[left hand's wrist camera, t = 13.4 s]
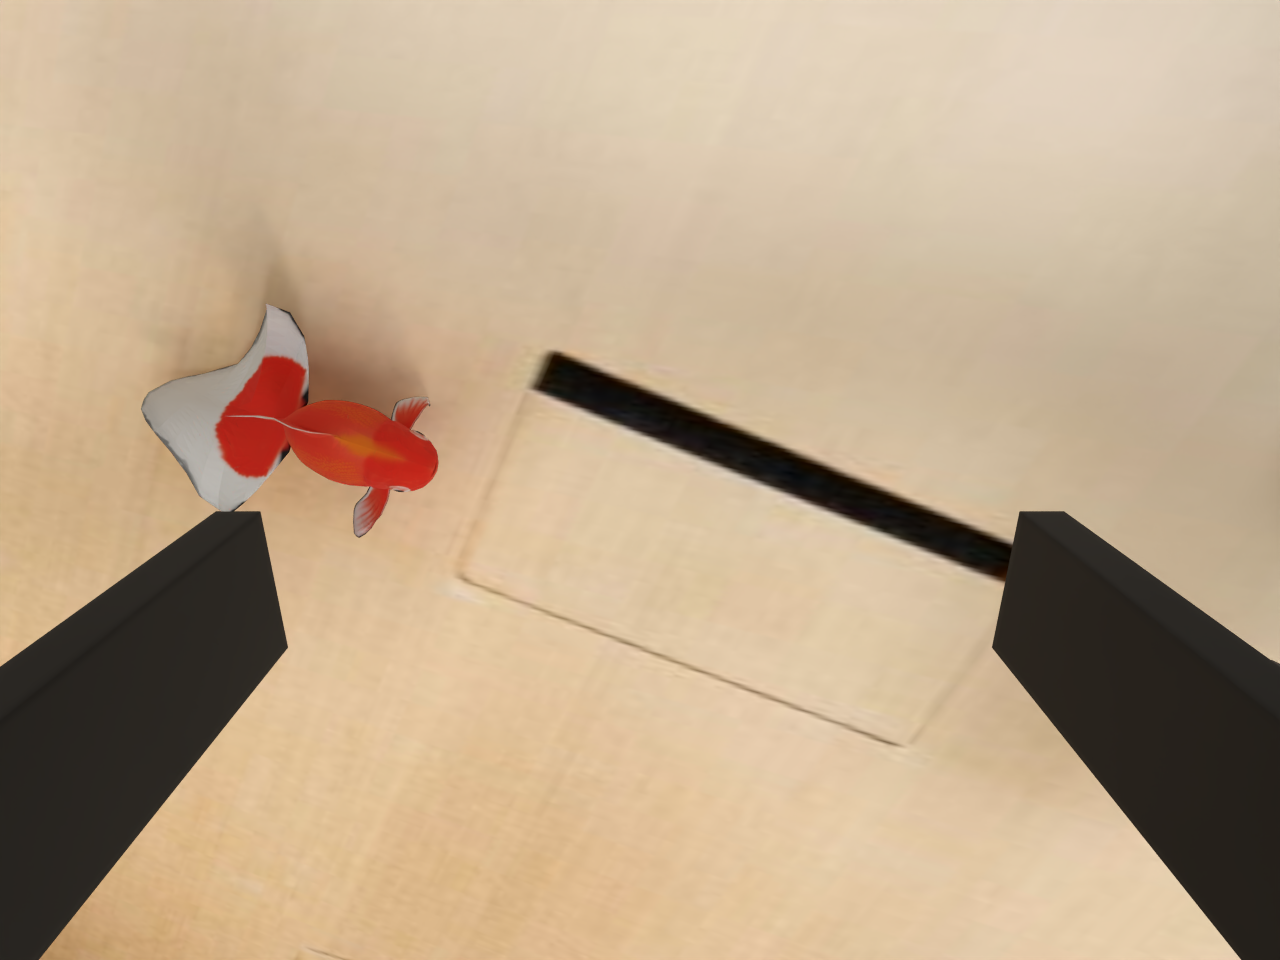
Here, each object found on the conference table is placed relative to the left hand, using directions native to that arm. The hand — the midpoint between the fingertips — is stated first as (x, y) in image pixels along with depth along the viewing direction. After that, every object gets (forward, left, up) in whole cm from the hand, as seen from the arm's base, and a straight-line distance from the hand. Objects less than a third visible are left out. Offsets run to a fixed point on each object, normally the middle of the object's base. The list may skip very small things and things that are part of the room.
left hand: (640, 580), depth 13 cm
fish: (+18, -5, -28) cm, 33 cm away
